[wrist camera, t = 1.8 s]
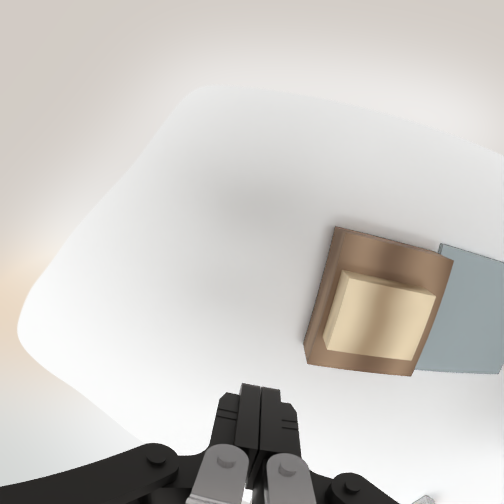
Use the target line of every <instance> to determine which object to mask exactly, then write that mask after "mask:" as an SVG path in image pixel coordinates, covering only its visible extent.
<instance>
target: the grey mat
mask: <svg viewBox="0 0 504 504" xmlns="http://www.w3.org/2000/svg"><path fill="white" fill-rule="evenodd" d="M438 254H441V255H443V256H445V257H447V258H449V259H452V260H454V263H453V266H452V270H451V273H450V276H449V280H448V283H447V286H446V289H445V292H444V295H443V298H442V301H441V304H440V307H439V310H438V312H437V315H436V318H435V321H434V323H433V326H432V328H431V331H430V334H429V336H428V339H427V341H426V343H425V346H424V348H423V351H422V353H421V355H420V358H419V360H418V362H417V365H416V367H415V369H414V370H425V371H438V372H455V373H477V374H499V372H500V370H501V368H502V365H503V363H504V263H502V262H499V261H496V260H493V259H490V258H487V257H484V256H481V255H477V254H474V253H471V252H468V251H465V250H461V249H458V248H455V247H451V246H448V245H445V244H440V248H439V252H438Z"/></svg>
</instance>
